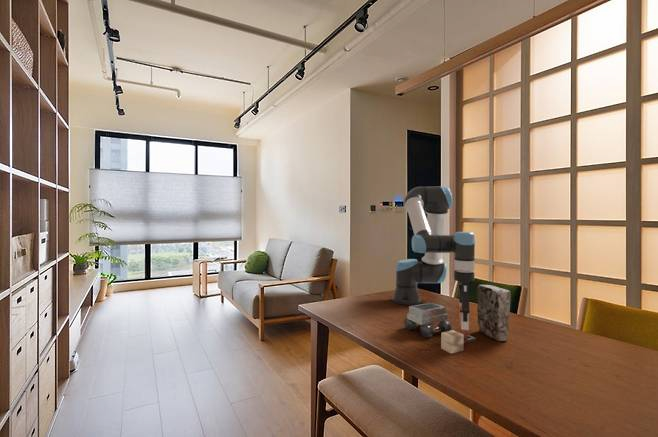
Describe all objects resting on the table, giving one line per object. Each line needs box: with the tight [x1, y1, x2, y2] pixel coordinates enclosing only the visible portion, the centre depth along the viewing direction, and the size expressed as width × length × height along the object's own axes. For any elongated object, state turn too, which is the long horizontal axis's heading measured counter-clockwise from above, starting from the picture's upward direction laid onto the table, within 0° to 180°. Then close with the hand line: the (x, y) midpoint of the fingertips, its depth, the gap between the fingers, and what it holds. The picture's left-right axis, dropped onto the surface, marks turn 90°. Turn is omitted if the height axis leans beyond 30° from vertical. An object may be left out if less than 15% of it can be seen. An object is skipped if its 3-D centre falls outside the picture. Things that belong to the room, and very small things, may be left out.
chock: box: [440, 329, 465, 354], centre depth 125 cm, size 6×5×6 cm
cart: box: [403, 302, 452, 339], centre depth 144 cm, size 14×15×10 cm
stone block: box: [476, 284, 512, 342], centre depth 138 cm, size 13×7×20 cm, turn 19°
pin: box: [457, 305, 469, 339], centre depth 135 cm, size 4×4×13 cm
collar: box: [464, 334, 477, 344], centre depth 135 cm, size 6×6×1 cm
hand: (463, 323), depth 135 cm, fingers open, 13 cm apart
